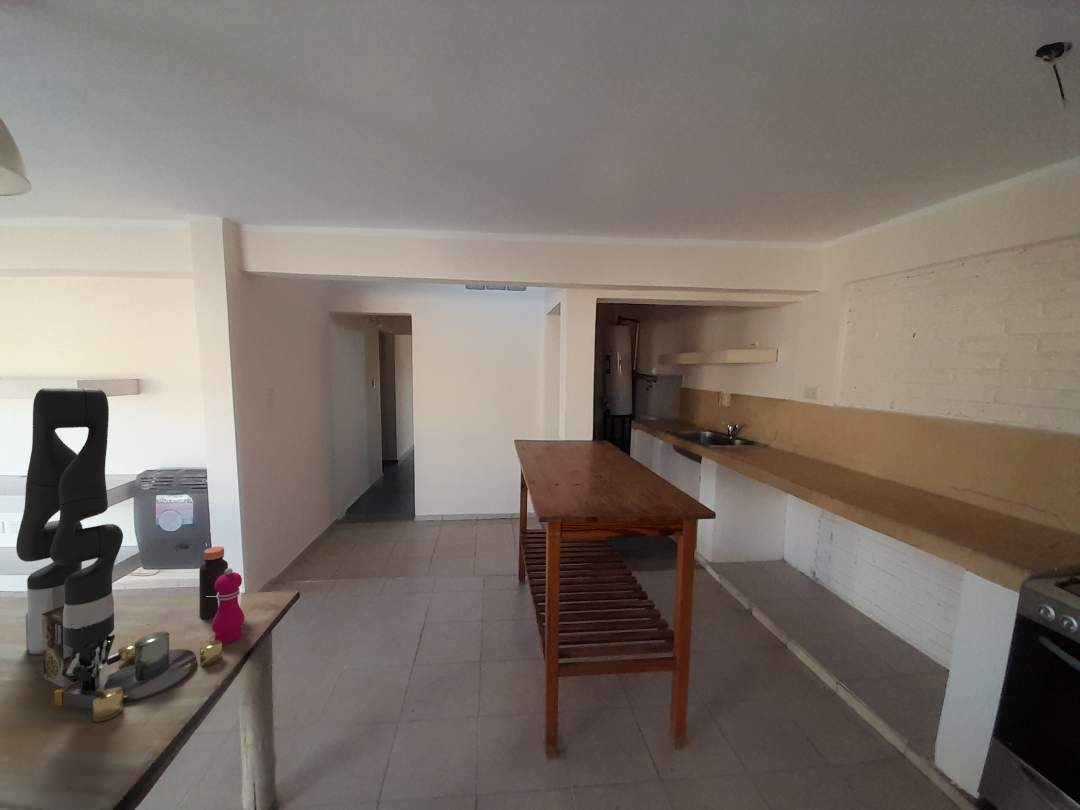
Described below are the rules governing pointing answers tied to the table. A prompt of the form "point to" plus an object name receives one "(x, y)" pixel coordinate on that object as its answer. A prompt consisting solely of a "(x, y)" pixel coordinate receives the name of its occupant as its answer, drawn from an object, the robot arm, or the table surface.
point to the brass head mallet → (92, 701)
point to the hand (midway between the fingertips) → (90, 691)
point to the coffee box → (55, 648)
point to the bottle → (211, 580)
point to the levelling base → (153, 684)
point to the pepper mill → (228, 608)
